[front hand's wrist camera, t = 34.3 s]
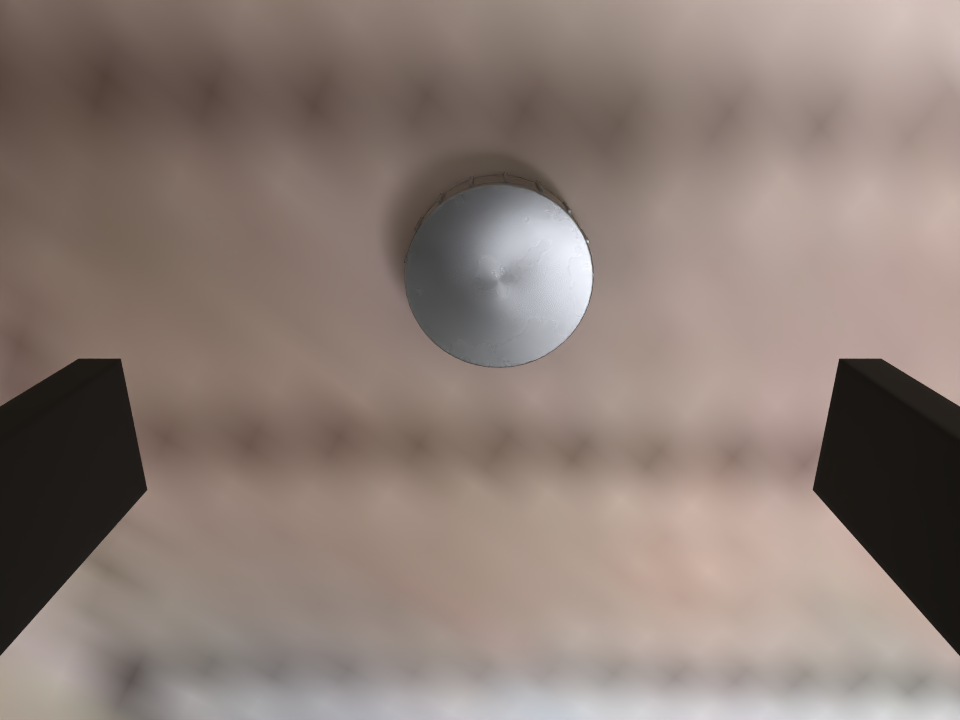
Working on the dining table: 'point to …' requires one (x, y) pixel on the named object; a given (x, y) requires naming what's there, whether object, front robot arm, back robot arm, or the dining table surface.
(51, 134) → the dining table surface
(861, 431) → the front robot arm
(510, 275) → the lid
